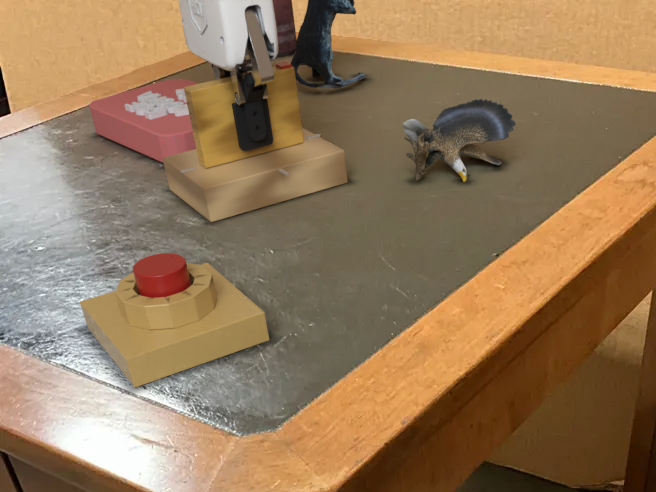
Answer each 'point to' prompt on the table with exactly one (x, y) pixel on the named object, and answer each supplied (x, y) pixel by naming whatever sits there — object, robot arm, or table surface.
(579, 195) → the table surface
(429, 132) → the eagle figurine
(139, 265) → the button
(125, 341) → the switch
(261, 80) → the robot arm
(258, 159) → the stand
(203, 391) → the table surface
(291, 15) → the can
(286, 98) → the wooden block
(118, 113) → the plaque
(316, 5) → the sculpture
